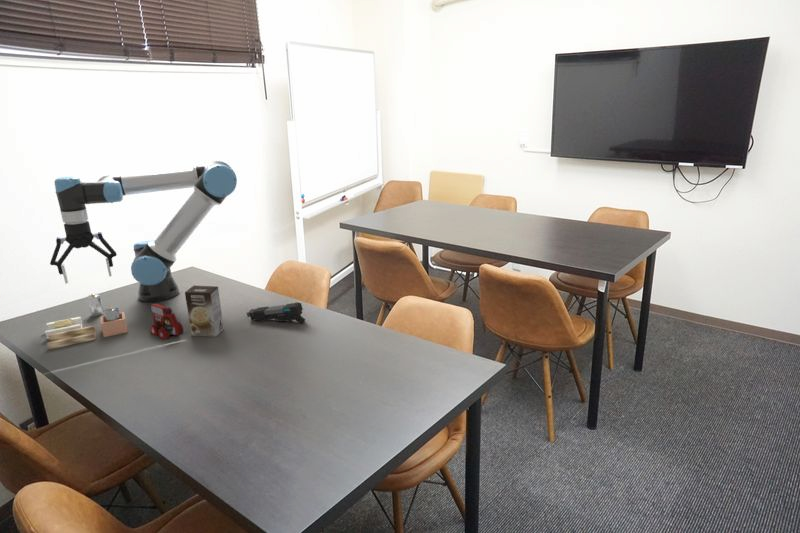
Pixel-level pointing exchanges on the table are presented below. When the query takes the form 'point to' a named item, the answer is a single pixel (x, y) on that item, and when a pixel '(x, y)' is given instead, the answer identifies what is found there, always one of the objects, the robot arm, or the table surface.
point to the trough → (71, 337)
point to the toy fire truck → (164, 322)
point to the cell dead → (111, 314)
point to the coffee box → (204, 310)
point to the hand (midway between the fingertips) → (89, 278)
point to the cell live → (95, 304)
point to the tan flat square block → (63, 323)
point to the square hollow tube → (114, 325)
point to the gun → (278, 313)
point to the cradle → (75, 325)
